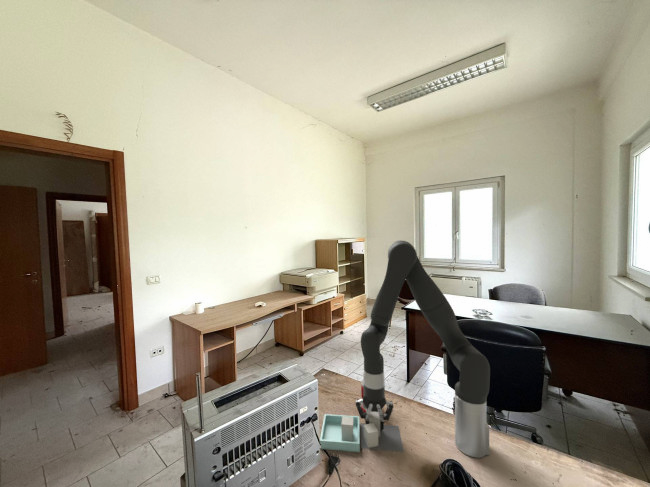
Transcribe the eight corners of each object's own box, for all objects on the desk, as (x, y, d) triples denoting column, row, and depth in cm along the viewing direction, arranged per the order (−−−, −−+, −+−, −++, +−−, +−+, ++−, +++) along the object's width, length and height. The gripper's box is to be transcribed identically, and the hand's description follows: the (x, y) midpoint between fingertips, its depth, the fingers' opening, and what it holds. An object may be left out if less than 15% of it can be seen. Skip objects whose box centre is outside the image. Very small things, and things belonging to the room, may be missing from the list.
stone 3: (373, 436, 92) (373, 423, 92) (378, 445, 88) (378, 431, 88) (363, 438, 91) (363, 424, 91) (368, 447, 88) (368, 433, 87)
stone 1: (353, 433, 94) (353, 417, 93) (353, 442, 90) (353, 425, 89) (342, 432, 94) (342, 416, 94) (341, 441, 90) (341, 424, 90)
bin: (359, 424, 99) (359, 416, 99) (359, 453, 86) (359, 443, 86) (324, 422, 101) (324, 414, 100) (319, 449, 87) (319, 440, 87)
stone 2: (379, 428, 96) (379, 411, 96) (380, 436, 92) (380, 419, 92) (368, 427, 97) (368, 411, 97) (369, 435, 93) (369, 419, 93)
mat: (398, 426, 97) (398, 425, 97) (404, 453, 86) (404, 451, 86) (360, 424, 99) (360, 423, 99) (360, 449, 87) (360, 448, 87)
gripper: (354, 387, 91) (354, 435, 92) (395, 389, 90) (396, 438, 90) (354, 375, 99) (354, 420, 99) (392, 377, 97) (393, 423, 97)
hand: (374, 429), depth 95 cm, fingers closed on stone 2, 3 cm apart
